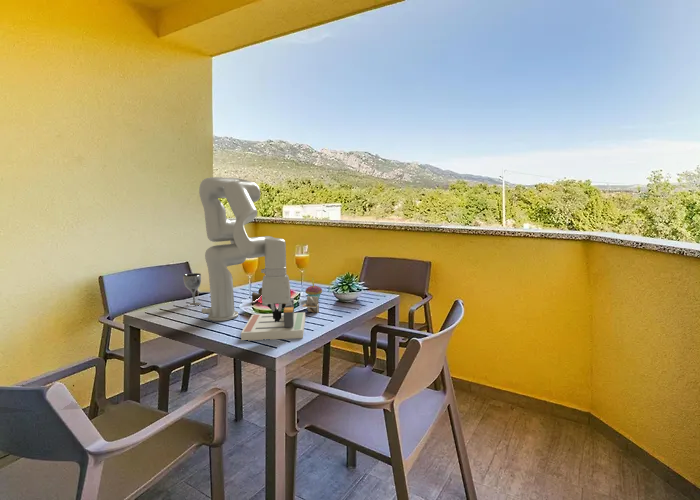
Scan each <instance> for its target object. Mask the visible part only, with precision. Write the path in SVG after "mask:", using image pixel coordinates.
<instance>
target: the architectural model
mask: <svg viewBox="0 0 700 500" xmlns="http://www.w3.org/2000/svg"><path fill="white" fill-rule="evenodd" d="M319 305H320V304H319V300H318V297H312V296H308V295H306V303H304V304H303V305H301V307H302V308H307V312H312V313H314V314H315V313H316V314H318V313H320V306H319Z"/></svg>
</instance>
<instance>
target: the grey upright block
mask: <svg viewBox="0 0 700 500" xmlns="http://www.w3.org/2000/svg"><path fill="white" fill-rule="evenodd" d="M283 313H284V327H293V326H294V313H295V312H294V313H293V307H289V308H284V310H283Z"/></svg>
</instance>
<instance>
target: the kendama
mask: <svg viewBox="0 0 700 500" xmlns="http://www.w3.org/2000/svg"><path fill="white" fill-rule="evenodd" d="M261 295H262V286H261V287H260V288H259V289H258V291H257V292H255V291H253V292H252V293H251V300H252V302H253V301H255V300H256V299H258V298H259V297H260V296H261Z"/></svg>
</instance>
